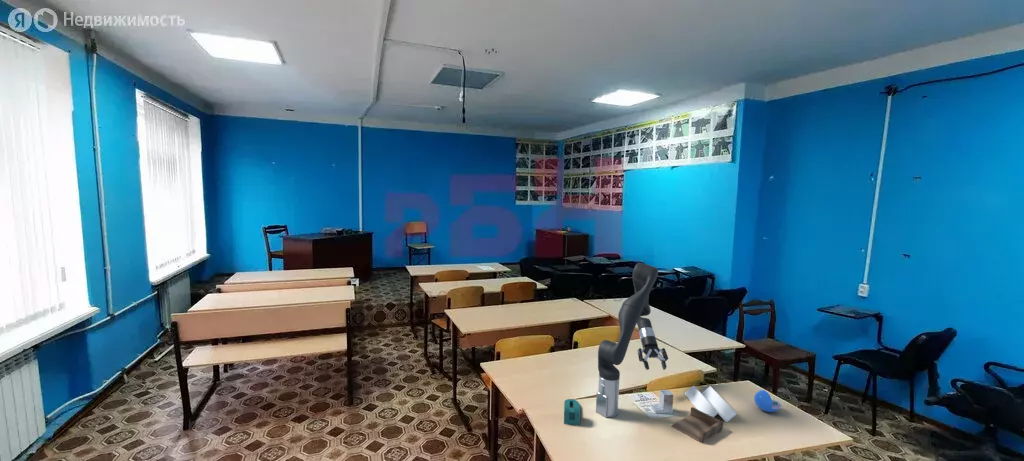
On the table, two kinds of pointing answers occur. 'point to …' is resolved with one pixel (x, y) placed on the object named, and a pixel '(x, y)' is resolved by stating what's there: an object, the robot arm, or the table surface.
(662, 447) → the table surface
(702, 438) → the walnut corner tray
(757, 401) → the blue rounded hollow shell
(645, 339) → the robot arm
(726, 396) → the table surface
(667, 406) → the aluminium bracket
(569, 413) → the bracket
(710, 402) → the z bracket
